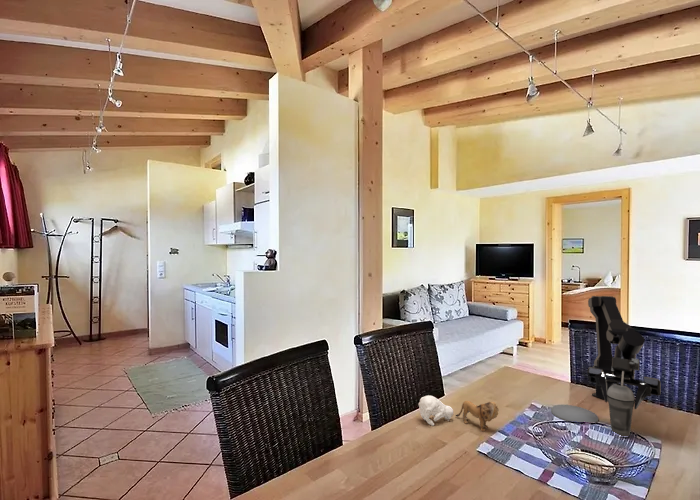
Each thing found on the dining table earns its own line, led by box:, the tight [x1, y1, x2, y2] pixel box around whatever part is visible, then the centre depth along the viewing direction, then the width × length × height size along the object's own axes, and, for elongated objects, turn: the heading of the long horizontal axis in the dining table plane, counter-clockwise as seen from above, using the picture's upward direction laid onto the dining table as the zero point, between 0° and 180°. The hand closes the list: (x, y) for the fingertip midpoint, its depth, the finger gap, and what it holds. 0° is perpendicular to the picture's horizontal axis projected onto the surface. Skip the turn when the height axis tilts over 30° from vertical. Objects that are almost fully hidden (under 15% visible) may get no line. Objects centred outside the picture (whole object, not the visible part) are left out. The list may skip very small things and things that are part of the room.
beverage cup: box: [607, 371, 636, 436], centre depth 118 cm, size 7×7×20 cm
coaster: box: [550, 404, 599, 423], centre depth 131 cm, size 14×14×1 cm
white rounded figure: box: [418, 395, 454, 427], centre depth 126 cm, size 6×8×12 cm
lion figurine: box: [455, 400, 500, 432], centre depth 123 cm, size 15×5×9 cm, turn 45°
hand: (620, 405), depth 116 cm, fingers closed on beverage cup, 7 cm apart
